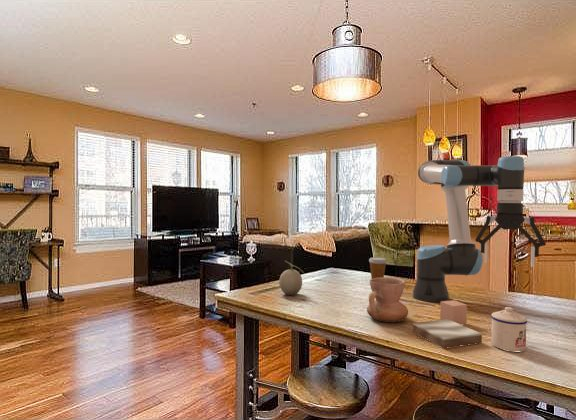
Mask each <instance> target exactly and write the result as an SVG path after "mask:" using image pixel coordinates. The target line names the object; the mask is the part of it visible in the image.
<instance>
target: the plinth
mask: <svg viewBox="0 0 576 420" xmlns="http://www.w3.org/2000/svg"><path fill="white" fill-rule="evenodd" d="M413 332H414V334H415V333H416V335H417V334H418V335H417V336H419V335H420V336H419V337H421V336H422V337H421V338H423V337H424V338H426V339H428V340H430V341H431V342H430V341H429V342H430V343H432V342H433V343H432V344H434V343H435V344H437V345H439V346H441V347H442V348H441V347H440V348H441V349H443V348H447V347H454V346H460V345H468V344H474V345H476V344H475V343H481V342H482V341H483V338H482V337H483V336H482V335H483V334H482V332H480V331H476V330H475V329H472V328H469V327H468V326H466V325H460V324H458V323H456V322H453V321H451V320H449V319H444V320H440V319H438V320H428V321H420V322H413V323H412V333H413ZM424 338H423V339H424ZM426 339H425V340H426ZM428 340H427V341H428ZM435 344H434V345H435ZM481 344H482V343H481ZM437 345H436V346H437ZM439 346H438V347H439ZM468 346H469V345H468ZM454 348H455V347H454ZM447 349H448V348H447Z"/></svg>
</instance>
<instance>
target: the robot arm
mask: <svg viewBox="0 0 576 420" xmlns="http://www.w3.org/2000/svg"><path fill="white" fill-rule="evenodd" d="M525 170H526V169H525V161H524V157H522V156H518V155H510V156H508V155H507V156H501V157H499V158H498V161H497V164H496V165H488V164H487V165H485V164H484V165H471V163H469V162H468V161H466V160H464V159H463V160H462V159H432V160H428V161H424V162H423V163H421V165H419V167H418V169H417V177H418V178H419V180H420V181H421V182H423V183H426V184H429V185H440V186H441V187H440V188H441V191H444V193H445V205H446V212H447V225H448V234H449V236H448V237H449V242H447V243H448V244H446V246H445V245H443V244H432V245H423V246H421V247H418V249H417V254H416V255H417V256H416V281H415V284H414V287H413V290H412V297H413V299H416V300H419V301H422V302H429V303H431V302H432V303H441V301H450V293H449V290H448V288H447V284H446V275H448V276H475V275H478V274H479V273H480V271H481V269H482V267H483V262H484V264H487V262H488V243H487V241H489V240H490V239H491V238H492V237H493V236H494V235H495V234H496V233H497V232H499V230H501V229H502V230H511V231H515V230H519V231H520V233H522V235H523V236H525V237H526V239H527V240H528V242H530V243H531V244H532V245H533V246H530V248H531V249H530V267H531V268H535V258H538V257H539V254H540V247H545V246H546V244H547V243H546V241H545V239H544V237H543V236H542V234H541V233H540V231H539V229H538V227H537V225H536V223H535V217H533V216H530V217H524V204H523V201H524V185H525V184H524V182H525ZM469 186H470V187H475V186H476V187H491V188H492V187H493V188H494V187H497V191H496V192H497V195H496V201H498V202H497V204H496V216H490V215H487V216H486V220H485V223H484V225H483V226H482V227H481V229H480V231H479V233H478V234H477V236H476V238H475V240H474V241H475V242H476V243H479V244H480V248H477V247H476V243H475V242H474V241H472V239H471V237H472V236H471V230H470V219H469V212H468V211H469V210H468V204H467V201H468V200H467V193H466V190H468V188H469ZM493 221H496V224H497V225H496V226H495V227H494V228H493V229H492V230H491V231H489V233H488V234H487V235H486V236H484V238H483V239H482V237H483V235H484V233H485V231H486V230H487V228H488V227H489V225H490V223H491V224H492V223H493ZM524 222H526V223H527V224H528V225H530V227H531V229H532V231H533V233H534V234H535V236H536V237H537V238H536V239H538V242H537V241H536V240H535V238H533V237H532V236H531V235H530V234H529V233H528V232H527V231H526V230H525V228H524V227H523V226H522V224H524ZM483 254H484V257H483Z"/></svg>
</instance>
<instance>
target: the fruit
mask: <svg viewBox="0 0 576 420" xmlns="http://www.w3.org/2000/svg"><path fill="white" fill-rule="evenodd" d="M284 262H285V263H287V264H288V265H290V268H289V269H286V270H284V271H283V272H282V273H281V274H280V277H279V280H278V281H279V283H278V284H279V287H280V289H281V292H282V293H283V294H285V295H287V296H295V295H297V294H299V293H300V291H301V289H302V287H303V277H302V274H300V272H302V273H303V274H305V272H304V271H303V270H302V269H301V268H300V267H298V266H296V265H294V264H292V263H291V262H288V261H287V260H284ZM293 267H294V268H297V269H298V270H300V272H299V271H297V270H296V269H294V268H293Z"/></svg>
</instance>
